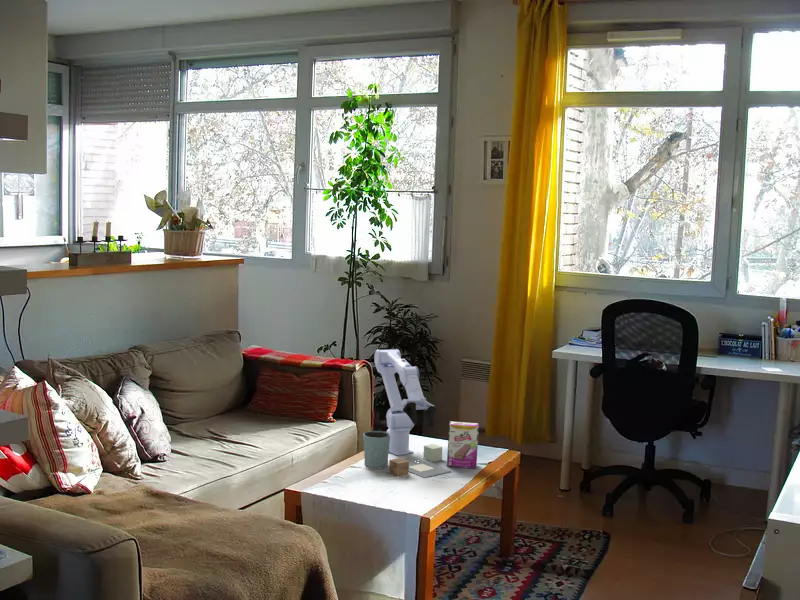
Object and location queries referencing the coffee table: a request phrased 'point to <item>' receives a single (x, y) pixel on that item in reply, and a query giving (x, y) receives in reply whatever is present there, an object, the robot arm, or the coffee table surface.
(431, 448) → the sage block
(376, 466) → the green plant pot
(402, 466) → the walnut block
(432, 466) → the board
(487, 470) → the coffee table surface
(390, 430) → the robot arm
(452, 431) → the candy bar box
